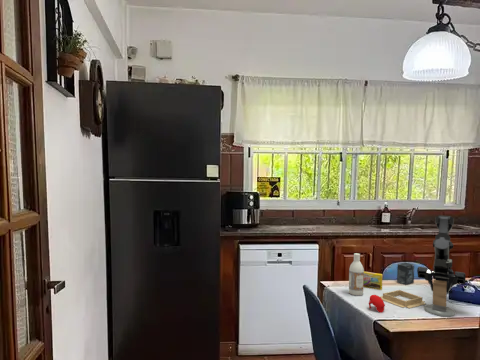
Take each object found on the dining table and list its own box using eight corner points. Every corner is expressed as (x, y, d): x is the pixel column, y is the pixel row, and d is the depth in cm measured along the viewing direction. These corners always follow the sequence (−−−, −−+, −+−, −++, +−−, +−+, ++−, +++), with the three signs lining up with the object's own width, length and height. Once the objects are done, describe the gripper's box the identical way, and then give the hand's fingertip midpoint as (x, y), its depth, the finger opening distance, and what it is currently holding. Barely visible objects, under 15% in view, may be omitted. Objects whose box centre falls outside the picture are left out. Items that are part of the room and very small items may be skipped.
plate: (443, 306, 163) (443, 303, 162) (462, 316, 151) (462, 314, 151) (418, 306, 161) (418, 304, 161) (435, 317, 149) (435, 314, 149)
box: (406, 285, 193) (406, 266, 193) (396, 282, 198) (397, 263, 198) (414, 283, 197) (414, 264, 197) (404, 280, 202) (405, 262, 202)
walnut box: (433, 306, 159) (433, 279, 159) (446, 308, 157) (446, 281, 157) (432, 309, 155) (432, 282, 155) (446, 312, 152) (446, 284, 152)
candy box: (349, 285, 192) (350, 269, 192) (350, 284, 194) (351, 269, 194) (381, 290, 184) (381, 274, 184) (382, 289, 185) (382, 273, 185)
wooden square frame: (398, 293, 180) (398, 288, 180) (428, 303, 166) (429, 298, 166) (376, 297, 172) (376, 292, 172) (406, 309, 158) (406, 303, 158)
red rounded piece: (363, 299, 160) (368, 296, 155) (374, 294, 162) (379, 290, 157) (373, 316, 157) (378, 314, 152) (384, 311, 158) (390, 308, 153)
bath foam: (353, 296, 174) (354, 255, 173) (346, 291, 180) (347, 252, 180) (366, 295, 175) (367, 255, 175) (358, 291, 182) (359, 252, 182)
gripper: (418, 249, 164) (415, 278, 155) (466, 254, 154) (465, 286, 145) (419, 262, 171) (416, 291, 161) (465, 268, 161) (465, 299, 152)
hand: (439, 292), depth 155 cm, fingers open, 5 cm apart
